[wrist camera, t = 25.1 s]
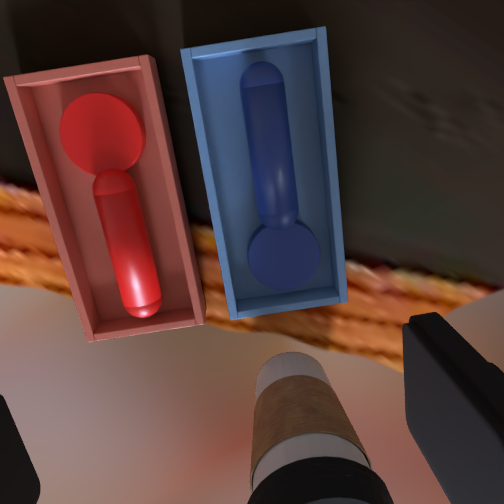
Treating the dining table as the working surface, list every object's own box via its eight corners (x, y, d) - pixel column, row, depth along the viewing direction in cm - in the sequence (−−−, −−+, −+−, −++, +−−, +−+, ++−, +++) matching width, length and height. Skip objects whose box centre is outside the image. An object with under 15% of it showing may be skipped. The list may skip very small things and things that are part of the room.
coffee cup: (221, 368, 36) (214, 544, 21) (311, 320, 34) (366, 472, 20) (272, 437, 38) (296, 634, 24) (357, 394, 37) (434, 574, 23)
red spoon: (184, 301, 33) (179, 318, 30) (116, 311, 33) (107, 330, 30) (135, 86, 28) (126, 85, 25) (56, 99, 28) (38, 99, 25)
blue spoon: (217, 69, 28) (215, 66, 25) (297, 56, 28) (304, 52, 25) (252, 287, 33) (254, 304, 30) (320, 277, 33) (328, 292, 30)
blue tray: (230, 305, 34) (230, 320, 31) (184, 53, 28) (179, 48, 25) (340, 288, 34) (348, 302, 31) (317, 32, 28) (326, 25, 25)
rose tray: (97, 325, 34) (87, 342, 31) (22, 79, 28) (2, 76, 25) (206, 308, 34) (204, 324, 31) (155, 58, 28) (148, 54, 25)
